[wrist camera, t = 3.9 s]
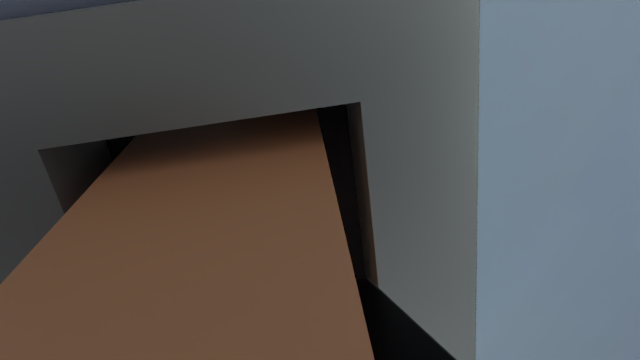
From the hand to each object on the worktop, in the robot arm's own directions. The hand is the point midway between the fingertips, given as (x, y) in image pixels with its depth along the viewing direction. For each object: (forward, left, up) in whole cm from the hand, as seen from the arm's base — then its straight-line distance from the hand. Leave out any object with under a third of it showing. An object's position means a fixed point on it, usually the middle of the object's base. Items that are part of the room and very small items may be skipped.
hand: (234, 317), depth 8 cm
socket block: (0, 0, -4) cm, 4 cm away
